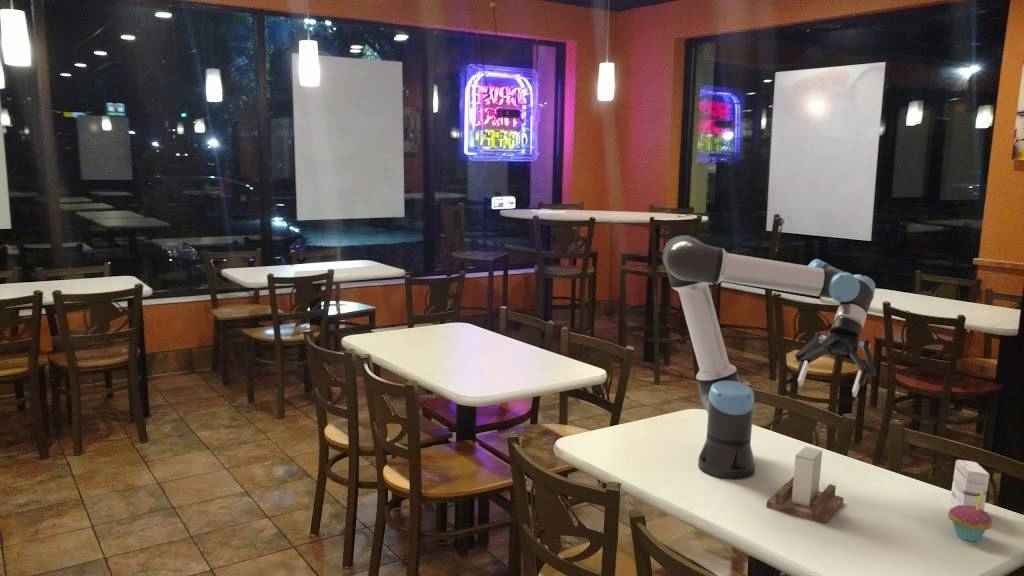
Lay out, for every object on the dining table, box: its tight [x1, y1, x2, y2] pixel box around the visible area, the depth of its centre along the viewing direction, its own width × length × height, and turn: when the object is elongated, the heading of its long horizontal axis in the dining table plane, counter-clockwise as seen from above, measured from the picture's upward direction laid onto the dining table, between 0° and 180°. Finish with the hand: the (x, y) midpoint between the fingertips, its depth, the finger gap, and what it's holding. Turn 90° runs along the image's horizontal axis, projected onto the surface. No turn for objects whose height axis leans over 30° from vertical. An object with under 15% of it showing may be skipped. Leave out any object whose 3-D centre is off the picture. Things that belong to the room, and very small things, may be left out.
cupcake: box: [947, 489, 993, 542], centre depth 172 cm, size 9×8×12 cm
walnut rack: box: [766, 476, 844, 525], centre depth 187 cm, size 14×15×4 cm
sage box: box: [792, 446, 823, 507], centre depth 186 cm, size 4×8×12 cm, turn 143°
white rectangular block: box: [949, 459, 990, 511], centre depth 185 cm, size 9×5×12 cm, turn 168°
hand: (826, 388), depth 198 cm, fingers open, 13 cm apart
